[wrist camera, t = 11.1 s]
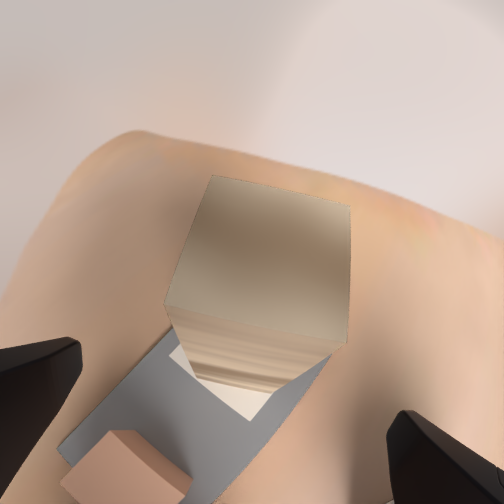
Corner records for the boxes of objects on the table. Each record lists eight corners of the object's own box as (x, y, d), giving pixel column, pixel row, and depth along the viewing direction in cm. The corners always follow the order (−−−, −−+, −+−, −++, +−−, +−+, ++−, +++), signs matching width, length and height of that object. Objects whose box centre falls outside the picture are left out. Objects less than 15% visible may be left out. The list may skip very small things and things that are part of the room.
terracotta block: (193, 479, 15) (185, 495, 11) (148, 522, 12) (128, 546, 8) (134, 429, 16) (110, 430, 12) (92, 473, 14) (58, 482, 10)
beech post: (270, 393, 19) (346, 342, 8) (196, 378, 19) (163, 303, 8) (282, 326, 21) (350, 205, 10) (213, 311, 21) (212, 174, 10)
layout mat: (337, 344, 21) (339, 342, 21) (164, 545, 12) (163, 547, 11) (232, 268, 24) (233, 265, 24) (58, 448, 14) (55, 449, 14)
